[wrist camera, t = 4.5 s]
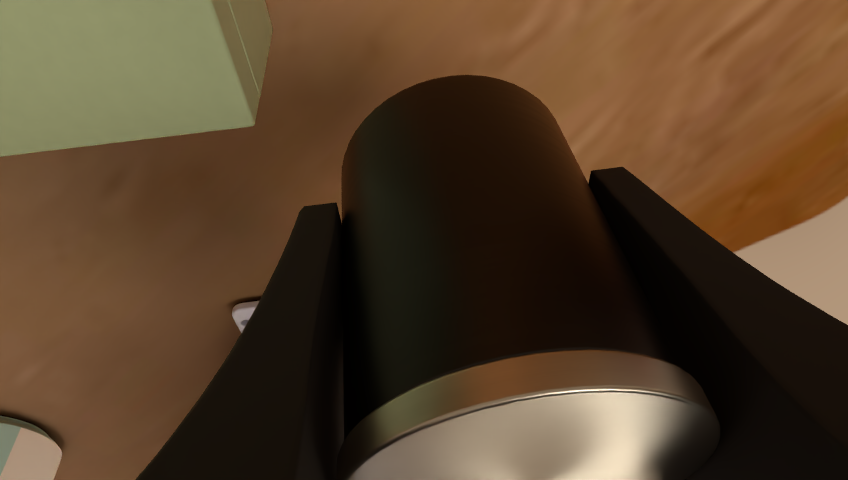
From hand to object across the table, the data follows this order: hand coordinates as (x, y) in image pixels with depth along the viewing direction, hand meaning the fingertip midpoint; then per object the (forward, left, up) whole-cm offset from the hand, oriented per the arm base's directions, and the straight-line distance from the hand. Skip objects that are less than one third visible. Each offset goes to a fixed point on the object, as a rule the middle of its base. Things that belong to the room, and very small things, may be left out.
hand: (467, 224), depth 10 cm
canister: (0, 0, -2) cm, 2 cm away
